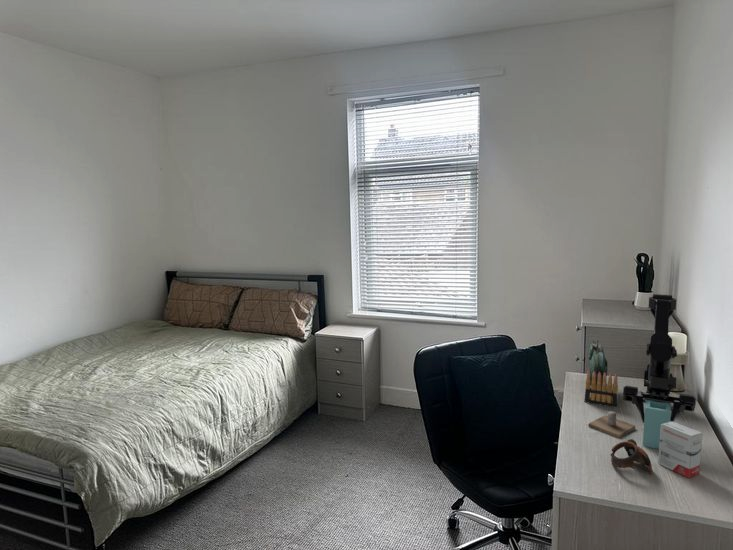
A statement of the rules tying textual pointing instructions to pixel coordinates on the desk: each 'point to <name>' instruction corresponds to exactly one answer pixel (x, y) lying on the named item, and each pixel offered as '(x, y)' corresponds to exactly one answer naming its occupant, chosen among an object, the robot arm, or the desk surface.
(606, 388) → the ammunition clip
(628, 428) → the peg plate
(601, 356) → the green lumpy upright piece
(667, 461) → the ink box
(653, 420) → the teal square planter
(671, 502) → the desk surface
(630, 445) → the brown ridged hollow part
